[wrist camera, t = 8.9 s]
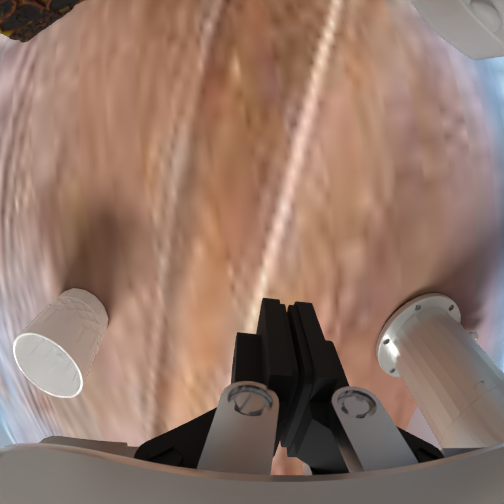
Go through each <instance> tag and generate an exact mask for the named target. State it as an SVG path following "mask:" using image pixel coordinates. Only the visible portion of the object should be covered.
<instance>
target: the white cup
mask: <svg viewBox="0 0 504 504" xmlns="http://www.w3.org/2000/svg"><path fill="white" fill-rule="evenodd" d="M107 326H108V316H107V313H106V310H105V307H104V306H103V304H102V303H101V302H100V301H99V300H98V298H97V297H96V296H94V295H93V294H91V293H89V292H88V291H86V290H83V289H76V288H72V289H69V290H67V291H64V292H63V293H62V294H61V295H60V296H59V297H58V298H57V299H56V300H55V301H53V302H52V303H50V304H49V305H48V306H47V307H46V308H45V309H44V310H43V311H42V312H41V313H40V314H39V315H38V316H37V317H36V318H35V319H34V320H33V321H32V322H31V323H30V324H29V325H28V326H27V327H26V328H25V329H24V330H23V331H22V332H21V333H20V334H19V335H18V336H17V337H16V339H15V341H14V344H13V353H14V357H15V360H16V362H17V364H18V366H19V368H20V369H21V371H22V372H23V374H24V375H25V376H26V377H27V378H28V379H29V380H30V381H31V382H32V383H33V384H34V385H35V386H37V387H38V388H40V389H41V390H43V391H44V392H46V393H48V394H51V395H53V396H57V397H61V398H70V397H74V396H76V395H78V394H79V393H80V392H81V390H82V388H83V385H84V383H85V380H86V378H87V376H88V373H89V371H90V369H91V366H92V364H93V362H94V360H95V357H96V355H97V352H98V350H99V348H100V345H101V342H102V339H103V337H104V335H105V332H106V330H107Z"/></svg>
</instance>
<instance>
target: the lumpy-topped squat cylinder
mask: <svg viewBox="0 0 504 504" xmlns="http://www.w3.org/2000/svg"><path fill="white" fill-rule="evenodd" d="M411 2H412V3H413V5H414V7H415V8H416V9H417V11H418V12H419V14H420V15H421V17H422V18H423V19H424V21H425V22H426V23H427V25H428V26H429V27H430V28H431V29H432V30H434V31H435V32H436V33H437V34H438V35H439V36H441V37H442V38H443V39H444V40H445V41H447V42H448V43H449V44H450V45H452V46H453V47H454V48H456V49H457V50H459V51H460V52H461V53H463V54H464V55H466V56H467V57H469V58H471V59H474V60H482V59H488V58H495V57H502V56H504V0H411Z"/></svg>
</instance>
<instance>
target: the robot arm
mask: <svg viewBox="0 0 504 504" xmlns="http://www.w3.org/2000/svg"><path fill="white" fill-rule="evenodd" d="M477 340H478V333H477V332H467V331H466V330H465V329H464V327H463V326H462V325H461V315H460V311H459V308H458V306H457V305H456V303H455V302H454V301H453V300H452V299H451V298H449V297H448V296H446V295H443V294H440V293H429V294H424V295H421V296H419V297H416V298H414V299H412V300H411V301H409V302H407V303H406V304H404V305H403V306H402V307H400V308H399V309H398V310H397V311H396V312H395V313H394V314H393V315H392V316H391V317H390V319H389V320H388V321H387V322H386V324H385V326H384V327H383V329H382V331H381V333H380V335H379V337H378V340H377V345H376V357H377V361H378V363H379V365H380V367H381V368H382V369H383V370H384V372H386V373H387V374H388V375H391V376H394V377H401V378H402V379H403V381H404V383H405V384H406V386H407V388H408V390H409V391H410V393H411V395H412V397H413V398H414V400H415V402H416V404H417V405H418V407H419V409H420V410H421V412H422V414H423V416H424V418H425V419H426V421H427V423H428V425H429V427H430V428H431V430H432V432H433V434H434V436H435V438H436V439H437V441H438V443H439V445H440V447H441V450H439V449H438V448H436V447H434V446H433V445H432V444H430V443H428V442H426V441H424V440H422V439H420V438H418V437H416V436H414V435H412V434H410V433H408V432H406V431H404V430H402V429H401V428H399V427H397V426H396V425H395V424H394V422H393V421H392V419H391V418H390V416H389V414H388V413H387V411H386V410H385V408H384V407H383V405H382V403H381V402H380V400H379V399H378V398H377V397H376V396H375V395H374V394H373V393H371V392H370V391H368V390H365V389H363V388H359V387H351V386H349V384H348V381H347V378H346V376H345V373H344V370H343V368H342V365H341V362H340V360H339V357H338V354H337V352H336V349H335V347H334V344H333V342H332V341H326V340H325V338H324V335H323V333H322V330H321V327H320V324H319V321H318V319H317V316H316V313H315V310H314V308H313V305H312V303H306V302H295V303H294V305H289V306H288V310H287V312H286V307H285V304H280V301H279V300H278V299H269V298H263V299H262V304H261V310H260V315H259V321H258V327H257V332H256V334H248V333H240V332H237V336H236V342H235V349H234V357H233V365H232V377H231V384H230V385H229V386H228V387H226V388H225V389H224V391H223V393H222V395H221V398H220V401H219V404H218V407H217V408H215V409H213V410H211V411H209V412H207V413H205V414H203V415H201V416H199V417H197V418H195V419H193V420H191V421H189V422H187V423H185V424H183V425H181V426H179V427H177V428H175V429H173V430H171V431H168V432H166V433H164V434H162V435H160V436H158V437H155V438H153V439H151V440H149V441H147V442H145V443H144V444H142V445H141V446H140V447H129V446H128V445H127V443H123V442H108V441H96V440H87V439H78V438H70V437H63V436H51V437H48V438H45V439H43V440H42V441H41V442H39V443H21V444H13V445H9V446H6V447H3V448H0V504H504V373H503V372H502V370H501V369H500V368H499V367H498V366H497V365H496V364H495V362H494V361H493V360H492V359H491V358H490V357H489V356H488V355H487V354H486V352H485V351H484V350H483V349H482V348H481V347H480V346H479V345H478V344H477V343H476V342H475V341H477ZM279 442H280V443H281V447H287V456H288V457H297V458H299V459H300V460H302V461H303V465H302V468H303V473H304V475H270V474H271V467H272V459H273V457H274V456H275V453H276V450H277V447H278V444H279Z"/></svg>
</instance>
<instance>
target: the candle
mask: <svg viewBox="0 0 504 504" xmlns="http://www.w3.org/2000/svg"><path fill="white" fill-rule="evenodd" d="M82 1H84V0H0V33H1V34H4V35H6V36H8V37H9V38H10V39H13V40H20V41H21V42H27V41H29V40H30V39H31V38H33V37H34V36H35V35H36V34H38V33H39V32H40V31H41V30H43V29H45V28H46V27H48V26H49V25H51V24H52V23H53V22H55V21H56V20H58V19H59V18H61V17H63V16H64V15H65V14H66V13H67V12H70V10H71V9H72V7H73V6H75V5H76V4H78V3H80V2H82Z"/></svg>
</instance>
